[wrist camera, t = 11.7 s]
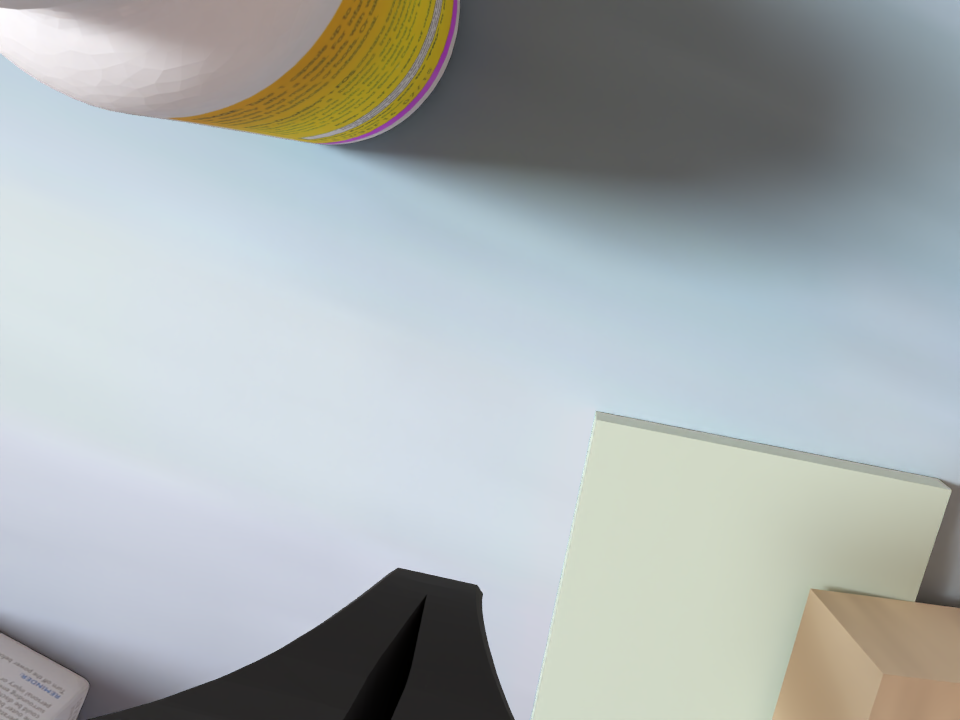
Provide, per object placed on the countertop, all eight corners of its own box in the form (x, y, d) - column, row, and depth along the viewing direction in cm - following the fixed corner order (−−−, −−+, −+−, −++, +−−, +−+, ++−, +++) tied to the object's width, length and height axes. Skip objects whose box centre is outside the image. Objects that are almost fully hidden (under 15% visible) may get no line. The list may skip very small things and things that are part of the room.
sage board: (807, 880, 24) (814, 903, 23) (511, 808, 24) (509, 828, 24) (938, 478, 21) (951, 490, 20) (595, 411, 21) (596, 419, 21)
